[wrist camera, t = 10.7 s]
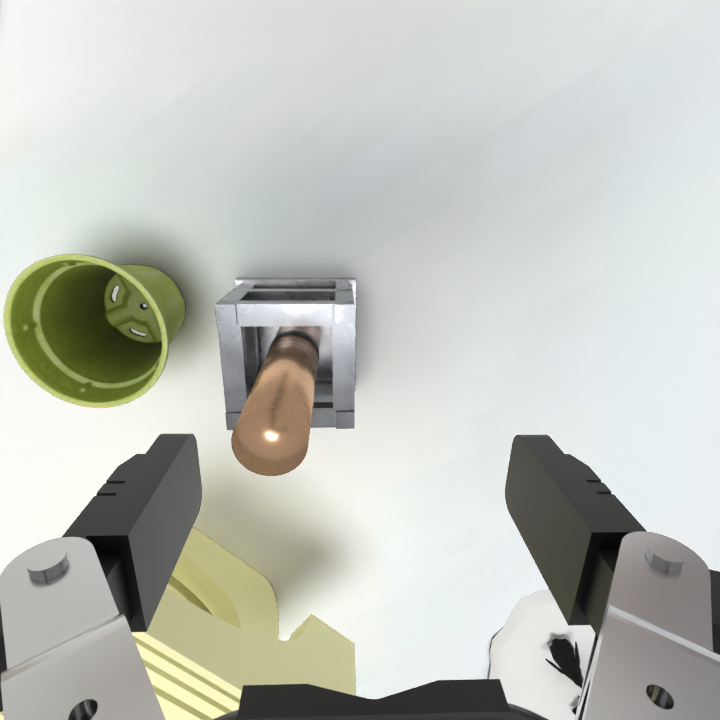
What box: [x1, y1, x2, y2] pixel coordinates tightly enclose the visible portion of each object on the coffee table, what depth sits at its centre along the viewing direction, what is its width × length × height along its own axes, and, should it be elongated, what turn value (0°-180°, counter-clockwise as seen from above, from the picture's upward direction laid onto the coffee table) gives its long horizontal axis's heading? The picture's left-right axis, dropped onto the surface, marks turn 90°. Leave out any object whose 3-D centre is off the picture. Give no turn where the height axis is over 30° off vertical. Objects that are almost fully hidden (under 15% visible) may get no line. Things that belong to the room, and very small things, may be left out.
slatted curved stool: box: [0, 527, 356, 720], centre depth 36 cm, size 30×16×18 cm, turn 135°
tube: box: [231, 326, 320, 476], centre depth 28 cm, size 4×4×16 cm
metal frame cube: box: [215, 278, 356, 430], centre depth 33 cm, size 9×9×8 cm
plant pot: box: [4, 254, 185, 408], centre depth 31 cm, size 9×9×9 cm
